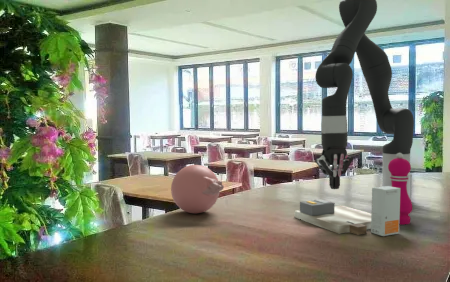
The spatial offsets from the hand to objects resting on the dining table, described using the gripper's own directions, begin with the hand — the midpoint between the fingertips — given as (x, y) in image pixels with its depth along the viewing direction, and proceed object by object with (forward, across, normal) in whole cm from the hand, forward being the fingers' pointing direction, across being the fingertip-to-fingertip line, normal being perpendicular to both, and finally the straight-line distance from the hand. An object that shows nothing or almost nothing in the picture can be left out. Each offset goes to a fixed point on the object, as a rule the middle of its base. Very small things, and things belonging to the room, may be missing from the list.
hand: (334, 188), depth 126 cm
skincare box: (+9, 0, +20) cm, 22 cm away
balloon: (+8, +35, -23) cm, 42 cm away
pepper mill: (+9, -12, +13) cm, 20 cm away
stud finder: (+6, +6, 0) cm, 9 cm away
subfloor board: (+9, +2, +6) cm, 11 cm away
